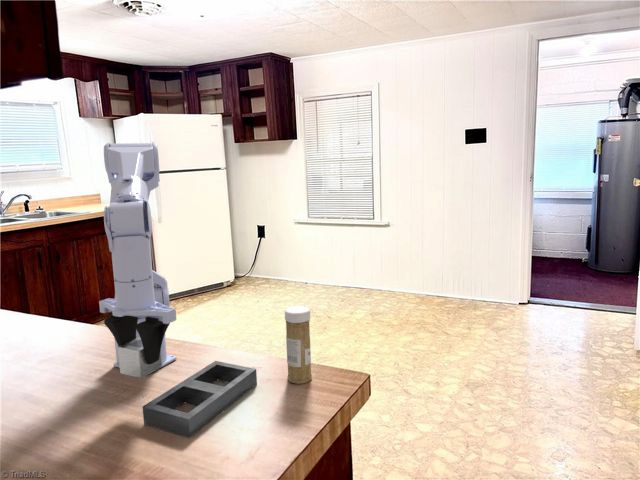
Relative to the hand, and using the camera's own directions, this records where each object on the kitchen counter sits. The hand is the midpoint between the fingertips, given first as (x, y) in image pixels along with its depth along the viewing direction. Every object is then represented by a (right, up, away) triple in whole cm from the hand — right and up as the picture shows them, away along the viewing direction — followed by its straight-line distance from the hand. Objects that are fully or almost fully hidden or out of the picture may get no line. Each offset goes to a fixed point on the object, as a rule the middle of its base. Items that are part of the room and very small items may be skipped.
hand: (141, 359), depth 77 cm
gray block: (0, -2, 0) cm, 2 cm away
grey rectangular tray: (+10, -8, +2) cm, 13 cm away
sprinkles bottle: (+25, -6, +10) cm, 28 cm away
